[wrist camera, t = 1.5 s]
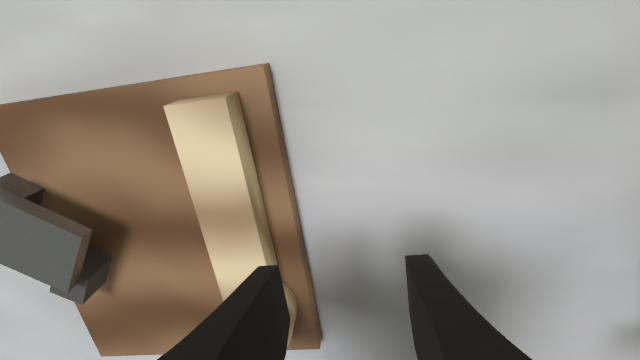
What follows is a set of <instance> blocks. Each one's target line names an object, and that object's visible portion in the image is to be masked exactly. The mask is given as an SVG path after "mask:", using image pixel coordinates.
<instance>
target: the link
mask: <svg viewBox="0 0 640 360" xmlns="http://www.w3.org/2000/svg"><path fill="white" fill-rule="evenodd" d="M163 107H164V110H165V114H166V117H167V120H168V123H169V127H170V130H171V133H172V136H173V140H174V143H175V146H176V149H177V153H178V156H179V159H180V162H181V166H182V169H183V172H184V175H185V179H186V182H187V185H188V188H189V192H190V195H191V198H192V201H193V205H194V208H195V211H196V214H197V218H198V221H199V224H200V227H201V231H202V234H203V237H204V240H205V244H206V247H207V250H208V253H209V257H210V260H211V263H212V266H213V270H214V273H215V276H216V279H217V283H218V286H219V289H220V292H221V296H222V299H223V301H224V300H225V299H226V298H227V297H228V296H229V295H230V294H231V293H232V292H233V291H234V290H235V289H236V288H237V287H238V286H239V285H240V284H241V283H242V282H243V281H244V280H245V279H246V278H247V277H248V276H249V275H250V274H251V273H252V272H253V271H254V270H255V269H256V268H257V267H258V266H268V265H277V260H276V256H275V252H274V247H273V243H272V239H271V234H270V230H269V226H268V221H267V217H266V213H265V208H264V204H263V200H262V195H261V191H260V187H259V182H258V178H257V173H256V169H255V165H254V160H253V156H252V152H251V147H250V143H249V139H248V134H247V130H246V126H245V121H244V117H243V113H242V108H241V104H240V100H239V95H238V91H234V92H227V93H220V94H213V95H206V96H200V97H193V98H186V99H180V100H178V101H175V102H173V103H170V104H168V105H165V106H163ZM282 284H283V288H284V292H285V297H286V301H287V306H288V310H289V314H290V327H289V336H288V343H287V347H288V345H289V344H290V341H291V337H292V333H293V328H294V324H295V319H296V315H297V310H298V304H297V300H296V297H295V295H294V293H293V292H292V290H291V289H290V288H289V287H288V286H287V285H286V284H285V283H283V282H282Z"/></svg>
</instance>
